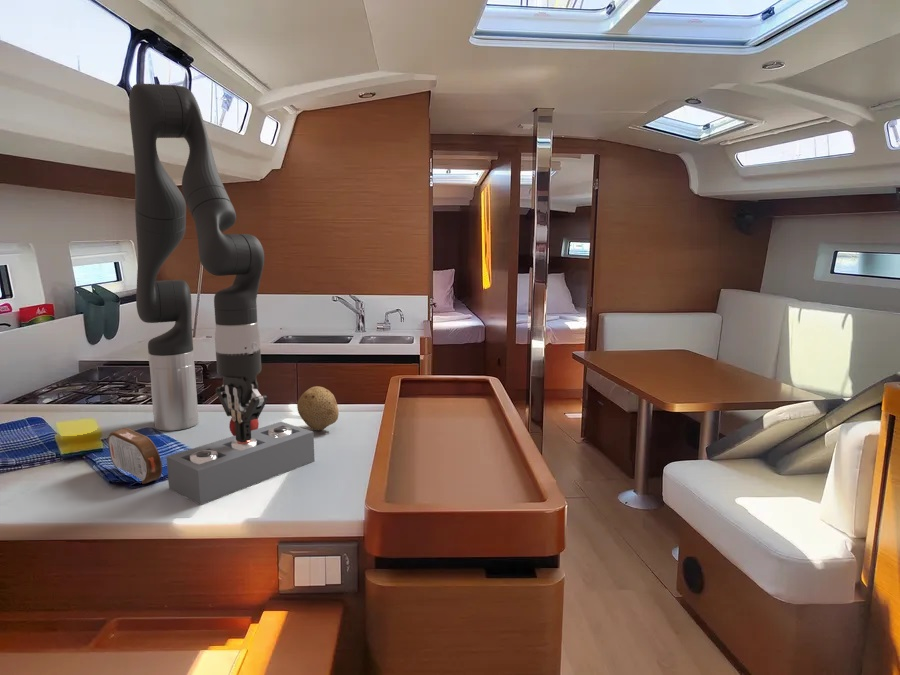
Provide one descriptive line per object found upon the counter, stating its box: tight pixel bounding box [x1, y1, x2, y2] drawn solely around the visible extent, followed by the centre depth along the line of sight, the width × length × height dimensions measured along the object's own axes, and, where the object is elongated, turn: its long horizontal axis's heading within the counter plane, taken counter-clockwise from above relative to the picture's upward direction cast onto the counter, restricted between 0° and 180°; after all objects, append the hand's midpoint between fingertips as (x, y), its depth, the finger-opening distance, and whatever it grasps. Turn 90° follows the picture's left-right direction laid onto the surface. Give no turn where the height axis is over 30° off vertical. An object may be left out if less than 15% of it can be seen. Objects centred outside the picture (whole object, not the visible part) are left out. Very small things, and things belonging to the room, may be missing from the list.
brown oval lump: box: [296, 385, 340, 431], centre depth 135 cm, size 9×9×10 cm
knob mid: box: [231, 438, 257, 451], centre depth 110 cm, size 4×4×4 cm
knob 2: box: [268, 427, 292, 439], centre depth 117 cm, size 4×4×4 cm
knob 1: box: [190, 450, 218, 465], centre depth 104 cm, size 4×4×4 cm
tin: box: [107, 427, 163, 485], centre depth 109 cm, size 15×3×8 cm, turn 53°
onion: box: [229, 417, 260, 436], centre depth 127 cm, size 6×6×8 cm
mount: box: [165, 421, 315, 506], centre depth 111 cm, size 10×24×6 cm, turn 143°
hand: (243, 440), depth 110 cm, fingers closed
